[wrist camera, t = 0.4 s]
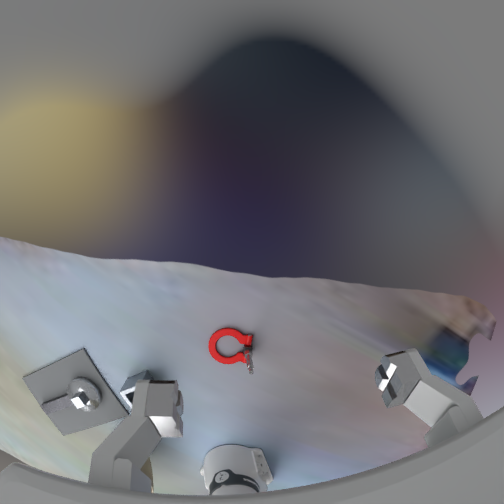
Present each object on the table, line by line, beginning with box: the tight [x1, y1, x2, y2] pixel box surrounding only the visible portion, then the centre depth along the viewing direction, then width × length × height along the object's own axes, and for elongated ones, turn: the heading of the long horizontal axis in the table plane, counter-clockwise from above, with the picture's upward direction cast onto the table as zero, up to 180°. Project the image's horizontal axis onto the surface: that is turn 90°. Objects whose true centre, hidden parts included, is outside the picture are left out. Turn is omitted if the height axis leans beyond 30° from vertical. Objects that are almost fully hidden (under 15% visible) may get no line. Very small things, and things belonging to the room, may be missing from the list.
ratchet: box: [40, 376, 102, 415], centre depth 56 cm, size 22×9×6 cm, turn 116°
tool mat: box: [22, 348, 129, 436], centre depth 59 cm, size 20×26×1 cm
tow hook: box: [209, 328, 254, 374], centre depth 57 cm, size 8×13×9 cm
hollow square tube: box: [119, 370, 154, 409], centre depth 58 cm, size 6×6×7 cm
